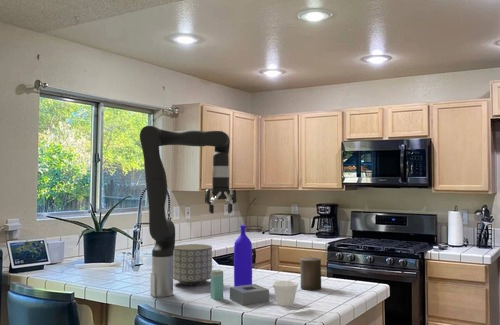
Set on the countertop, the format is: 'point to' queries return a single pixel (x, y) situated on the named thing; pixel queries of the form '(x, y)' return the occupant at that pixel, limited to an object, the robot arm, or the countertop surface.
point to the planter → (192, 263)
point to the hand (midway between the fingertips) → (220, 213)
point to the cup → (285, 292)
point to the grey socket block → (249, 294)
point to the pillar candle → (310, 273)
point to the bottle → (242, 259)
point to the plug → (216, 284)
